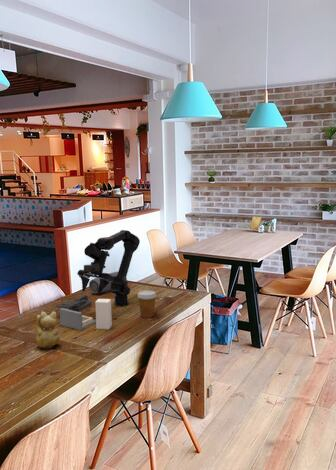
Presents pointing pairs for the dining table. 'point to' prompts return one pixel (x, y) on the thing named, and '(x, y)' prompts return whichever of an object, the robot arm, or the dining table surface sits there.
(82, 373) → the dining table surface
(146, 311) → the disposable coffee cup
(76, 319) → the board
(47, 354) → the dining table surface
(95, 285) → the bluetooth speaker
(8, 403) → the dining table surface
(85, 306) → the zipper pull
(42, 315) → the decorative figurine
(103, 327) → the white cabinet
